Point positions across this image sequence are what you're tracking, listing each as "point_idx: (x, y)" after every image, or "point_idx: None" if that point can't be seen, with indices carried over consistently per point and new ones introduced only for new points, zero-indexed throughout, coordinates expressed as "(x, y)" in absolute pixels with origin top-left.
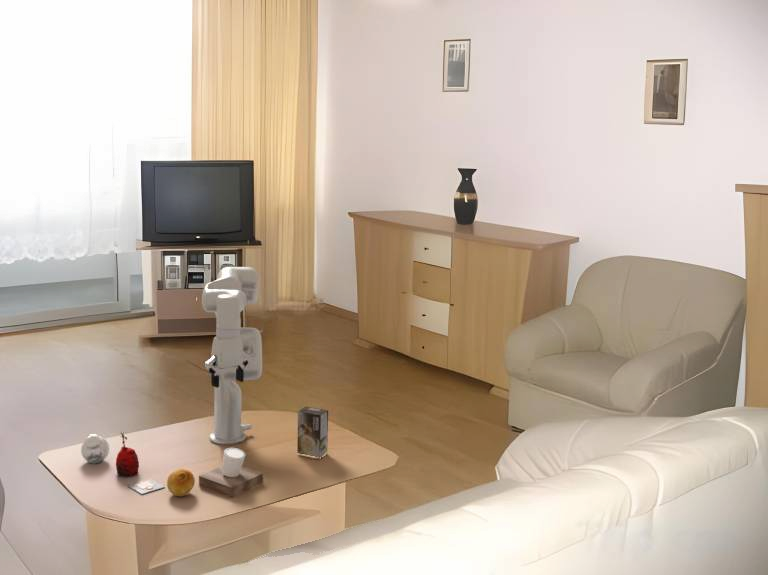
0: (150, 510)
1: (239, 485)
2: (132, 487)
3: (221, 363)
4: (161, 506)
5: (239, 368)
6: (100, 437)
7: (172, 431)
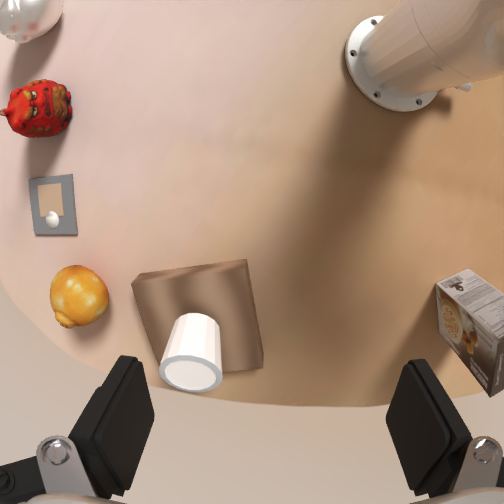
0: (33, 298)
1: None
2: (31, 194)
3: None
4: None
5: (437, 480)
6: (22, 4)
7: None
